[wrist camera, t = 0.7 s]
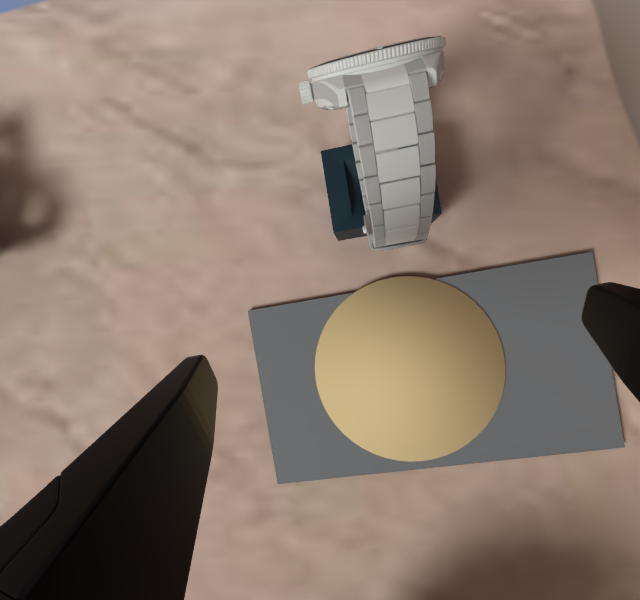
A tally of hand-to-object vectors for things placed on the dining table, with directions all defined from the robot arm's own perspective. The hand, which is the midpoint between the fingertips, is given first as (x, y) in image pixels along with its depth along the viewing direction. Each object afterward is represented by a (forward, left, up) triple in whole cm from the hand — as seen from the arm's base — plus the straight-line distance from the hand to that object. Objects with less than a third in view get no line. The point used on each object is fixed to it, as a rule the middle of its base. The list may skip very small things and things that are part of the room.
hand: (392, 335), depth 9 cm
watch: (+7, -1, -14) cm, 15 cm away
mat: (-4, -2, -13) cm, 14 cm away
